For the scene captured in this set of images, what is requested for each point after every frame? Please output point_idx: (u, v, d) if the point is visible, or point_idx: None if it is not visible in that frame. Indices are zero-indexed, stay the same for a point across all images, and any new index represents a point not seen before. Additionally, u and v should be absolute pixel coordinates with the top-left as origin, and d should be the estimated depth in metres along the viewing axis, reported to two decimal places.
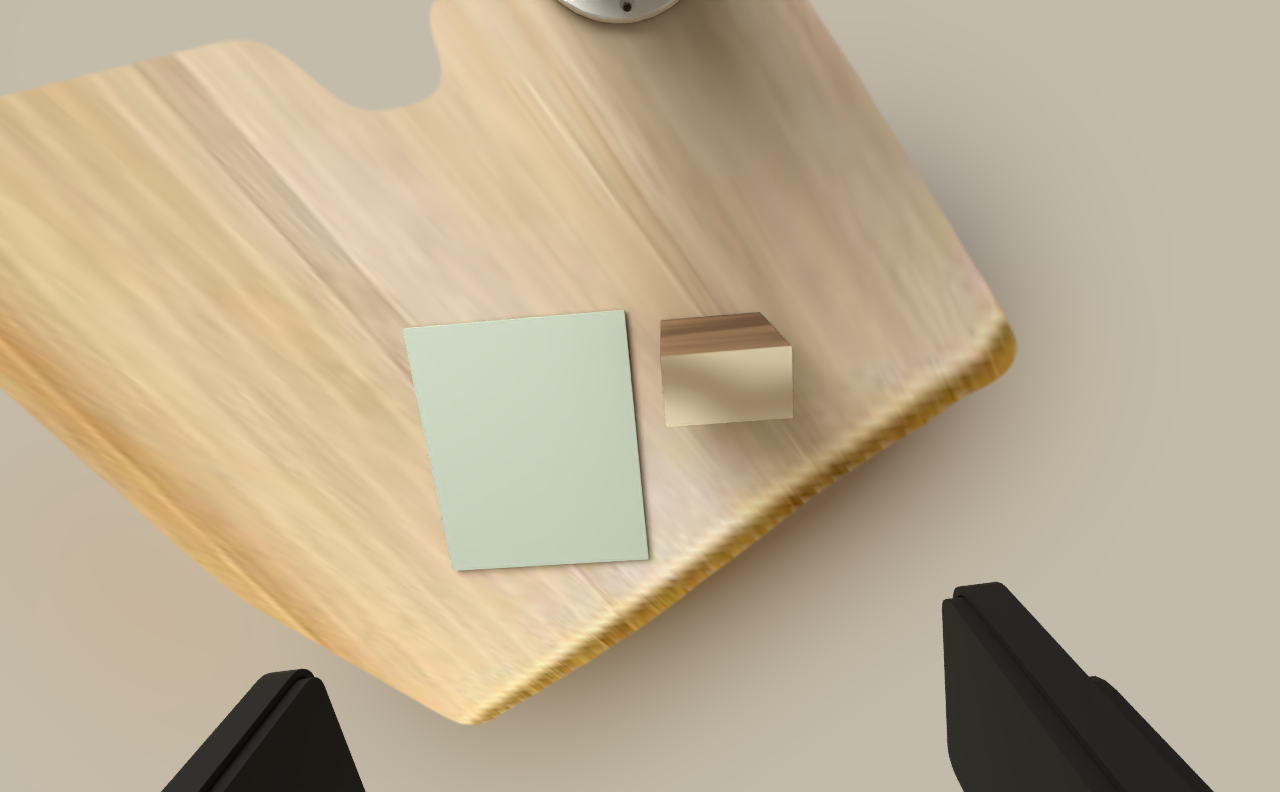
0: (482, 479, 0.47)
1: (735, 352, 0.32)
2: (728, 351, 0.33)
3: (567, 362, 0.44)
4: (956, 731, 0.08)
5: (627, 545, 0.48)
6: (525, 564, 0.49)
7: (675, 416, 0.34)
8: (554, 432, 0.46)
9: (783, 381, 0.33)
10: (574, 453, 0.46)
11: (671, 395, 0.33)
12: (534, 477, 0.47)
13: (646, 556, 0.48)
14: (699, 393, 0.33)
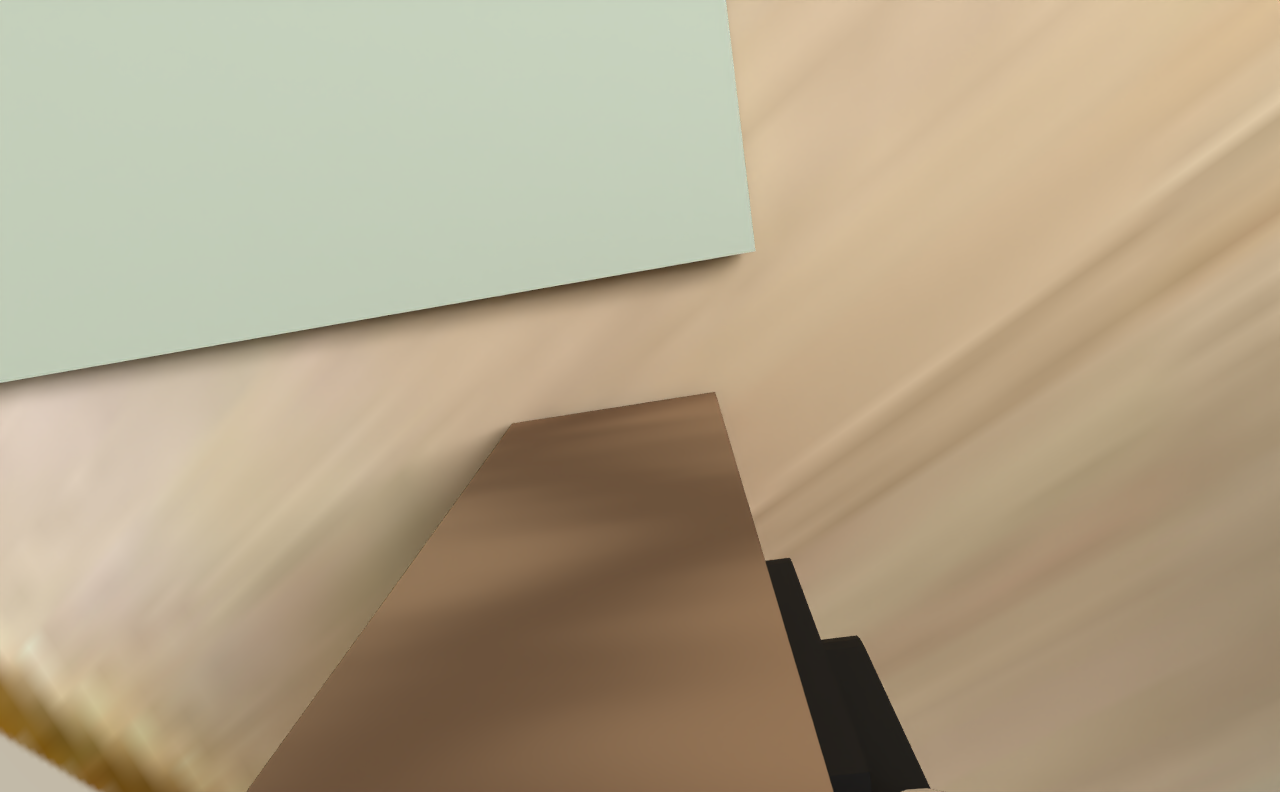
0: None
1: None
2: None
3: None
4: None
5: None
6: None
7: None
8: None
9: None
10: (80, 66, 0.10)
11: None
12: None
13: None
14: None
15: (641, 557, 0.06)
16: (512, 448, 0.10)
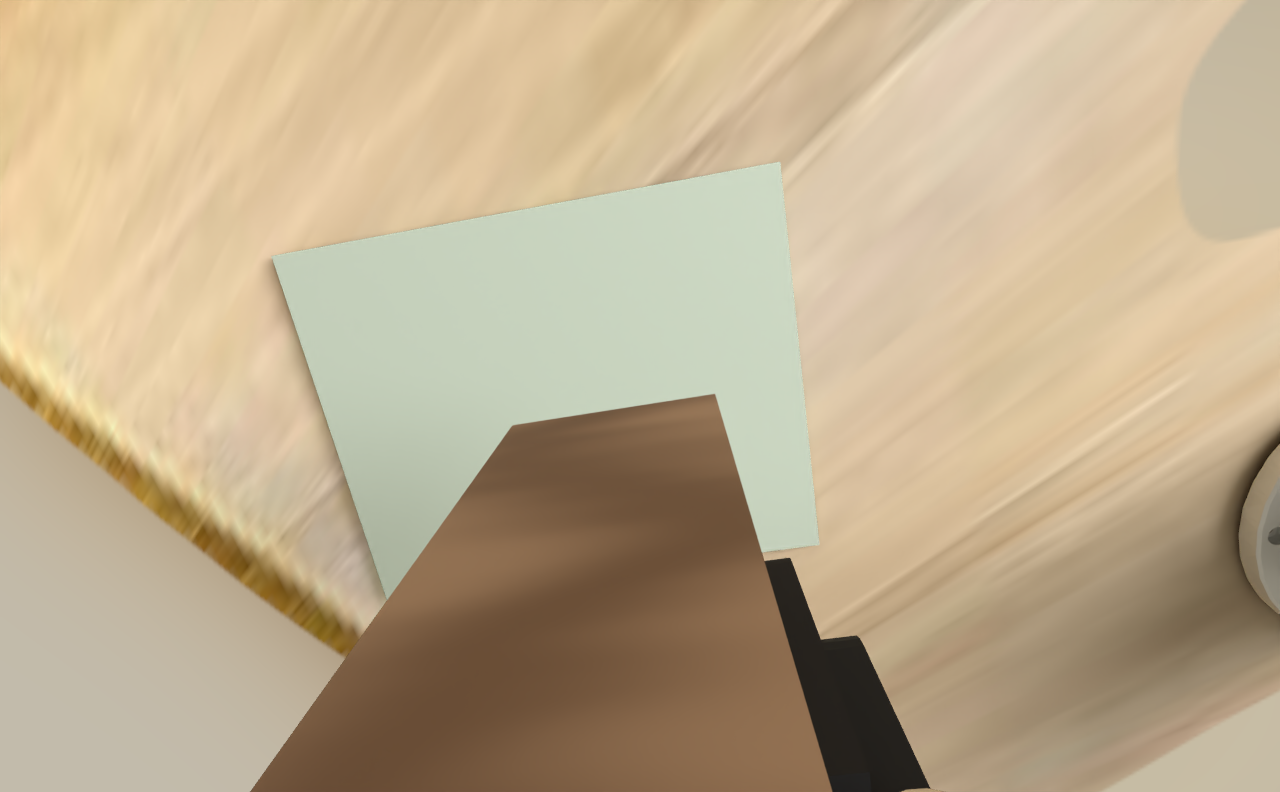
0: (487, 318, 0.24)
1: None
2: None
3: None
4: None
5: (405, 569, 0.28)
6: (324, 400, 0.26)
7: None
8: None
9: None
10: None
11: None
12: (507, 413, 0.25)
13: None
14: None
15: (642, 560, 0.06)
16: (512, 450, 0.10)
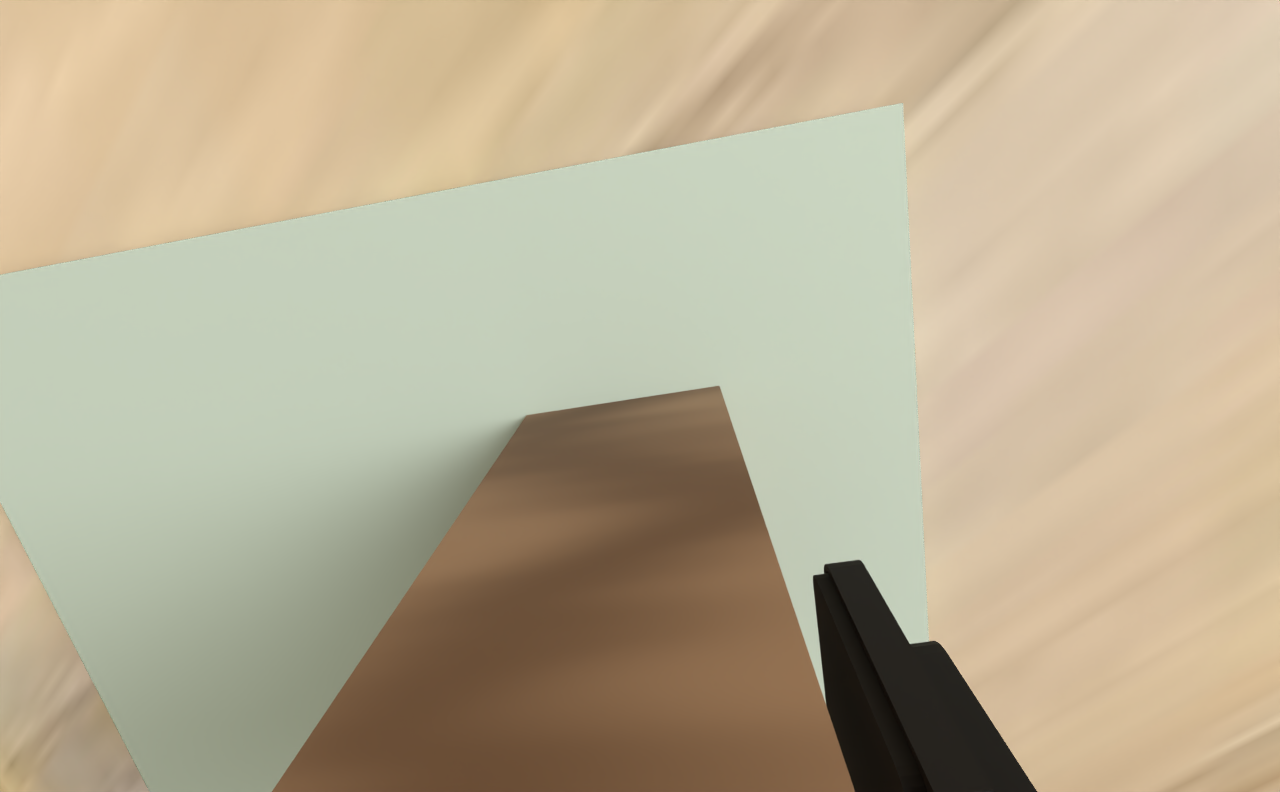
0: (320, 412, 0.13)
1: None
2: None
3: None
4: (828, 694, 0.09)
5: None
6: (35, 555, 0.14)
7: None
8: None
9: None
10: None
11: None
12: (371, 580, 0.14)
13: None
14: None
15: (656, 531, 0.07)
16: (528, 437, 0.11)
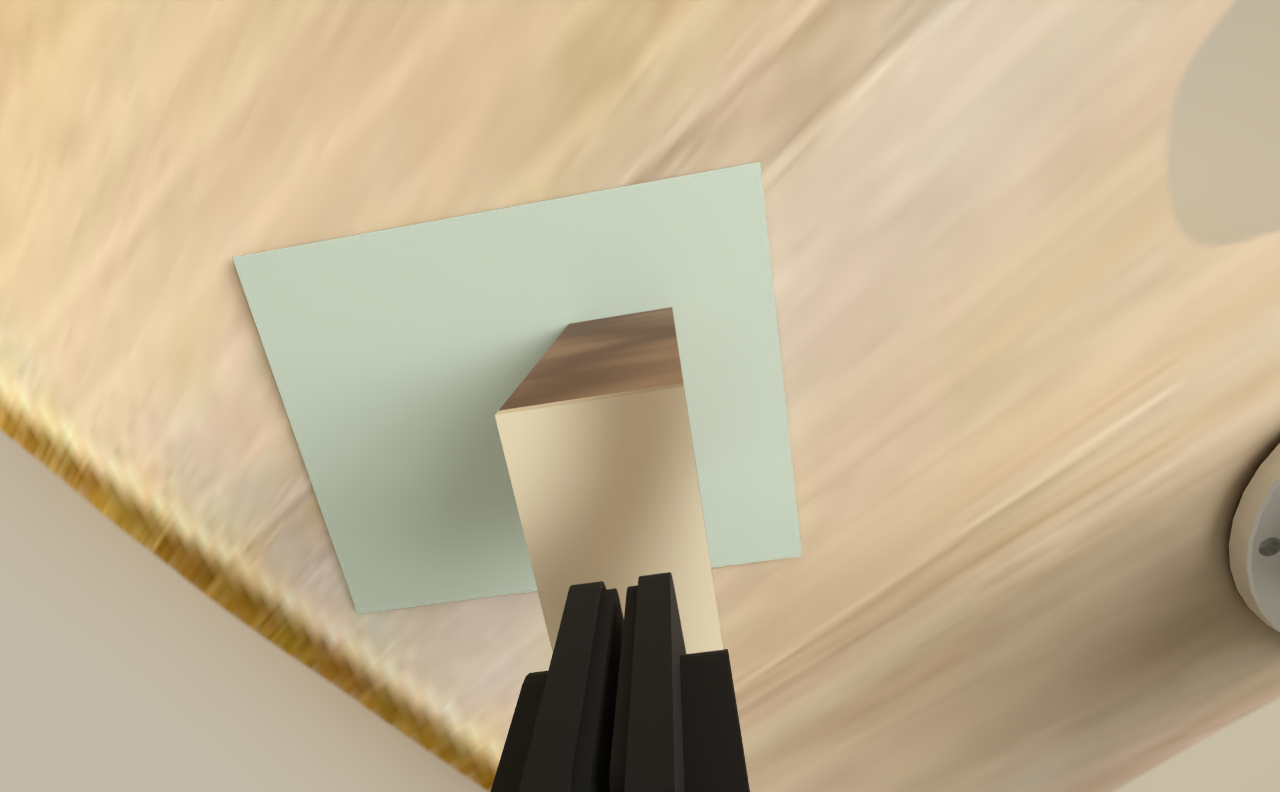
0: (457, 322, 0.23)
1: (707, 558, 0.14)
2: (706, 540, 0.14)
3: (708, 472, 0.25)
4: None
5: (376, 581, 0.27)
6: (289, 407, 0.25)
7: (526, 437, 0.13)
8: None
9: None
10: None
11: (583, 422, 0.13)
12: (479, 421, 0.25)
13: (362, 611, 0.27)
14: (596, 489, 0.13)
15: (634, 341, 0.18)
16: (573, 329, 0.22)
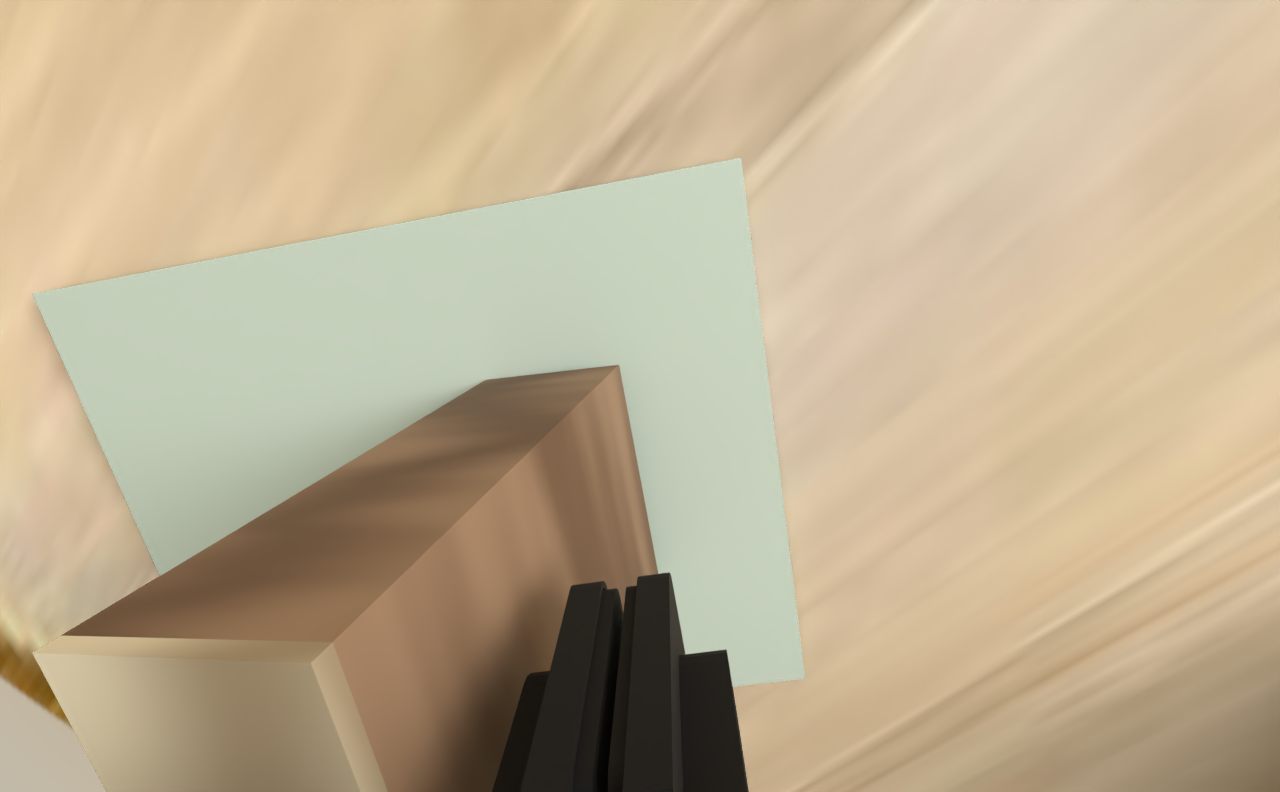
0: (336, 378, 0.17)
1: None
2: None
3: (679, 572, 0.19)
4: None
5: None
6: (125, 487, 0.19)
7: (87, 696, 0.07)
8: None
9: None
10: None
11: (162, 690, 0.07)
12: None
13: None
14: None
15: (476, 449, 0.11)
16: (471, 394, 0.16)
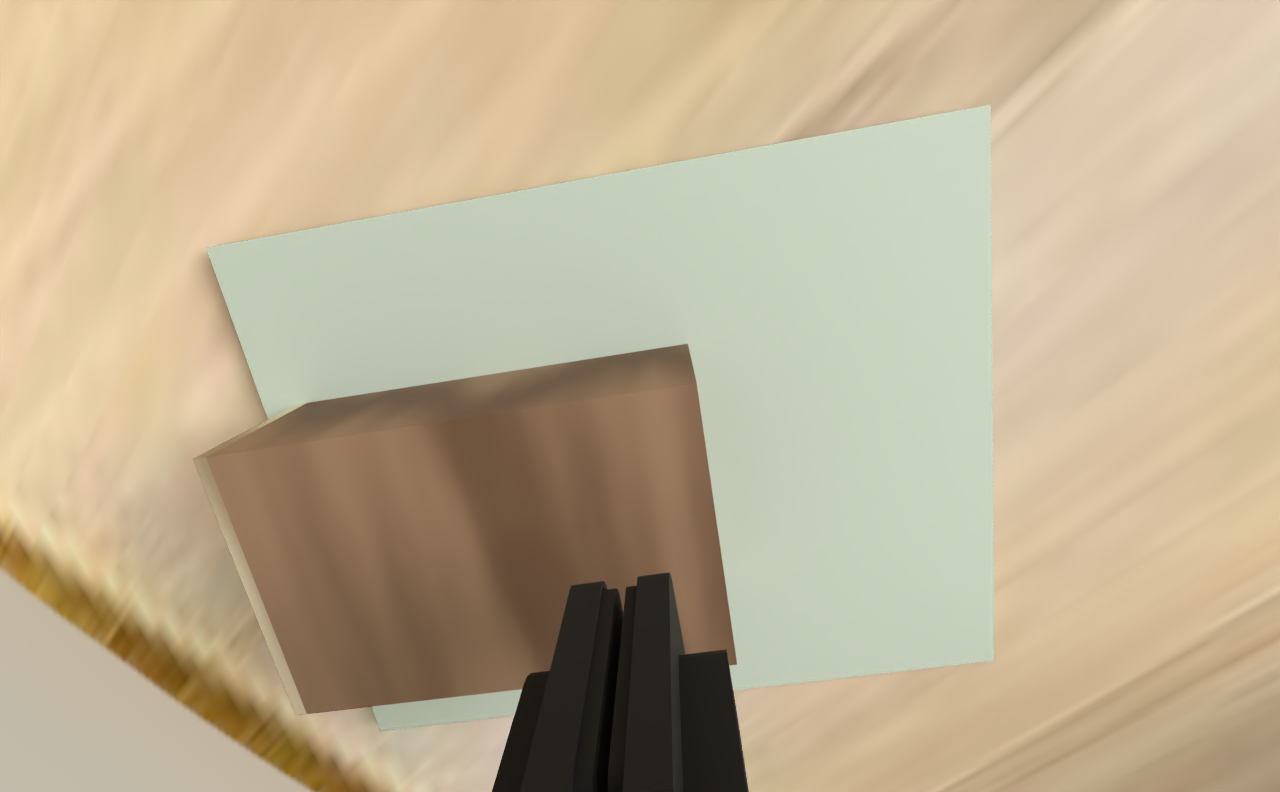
0: (529, 341, 0.16)
1: (257, 613, 0.14)
2: (255, 601, 0.14)
3: (874, 549, 0.18)
4: None
5: None
6: None
7: None
8: None
9: None
10: None
11: None
12: None
13: (386, 727, 0.20)
14: None
15: (455, 405, 0.14)
16: (633, 355, 0.16)
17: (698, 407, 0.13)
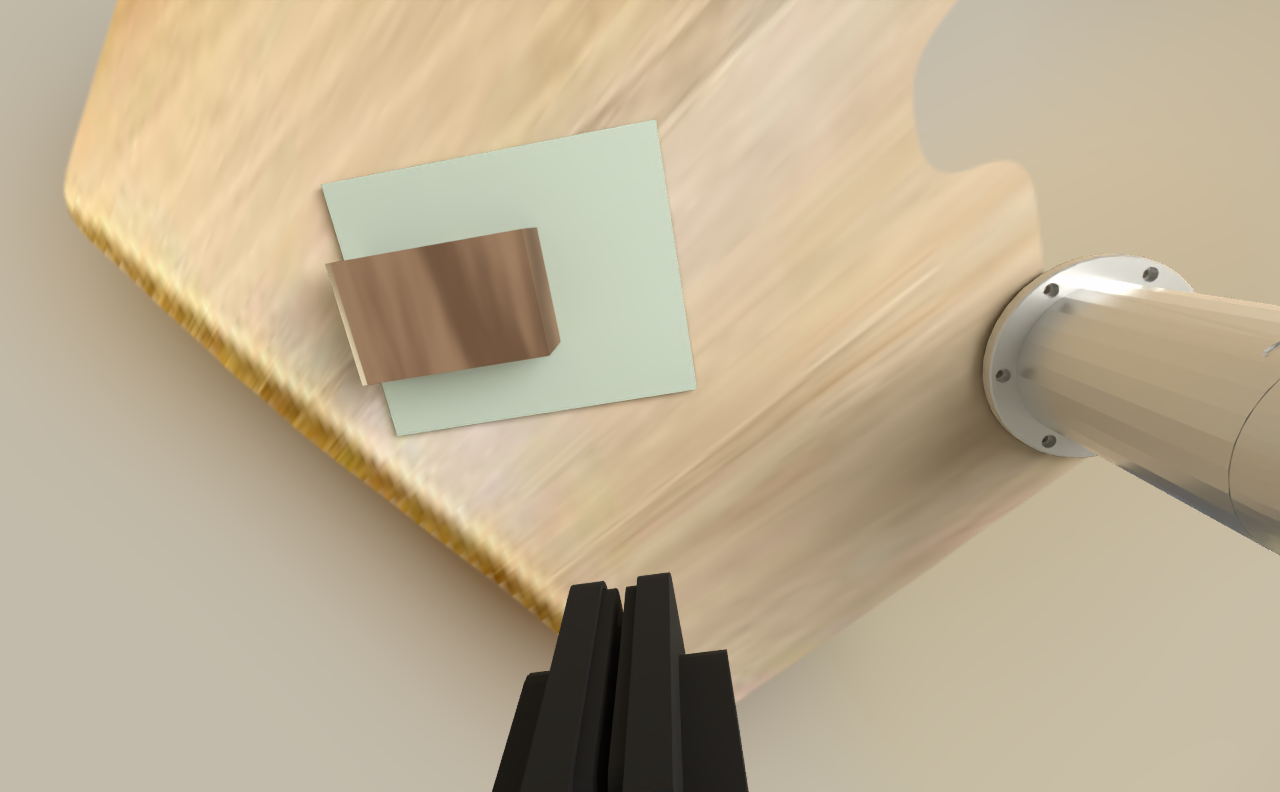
0: (465, 226, 0.36)
1: (347, 335, 0.34)
2: (347, 329, 0.34)
3: (632, 329, 0.38)
4: None
5: (410, 411, 0.40)
6: None
7: None
8: None
9: None
10: None
11: None
12: None
13: (400, 433, 0.40)
14: None
15: None
16: None
17: (523, 238, 0.32)
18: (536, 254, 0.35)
